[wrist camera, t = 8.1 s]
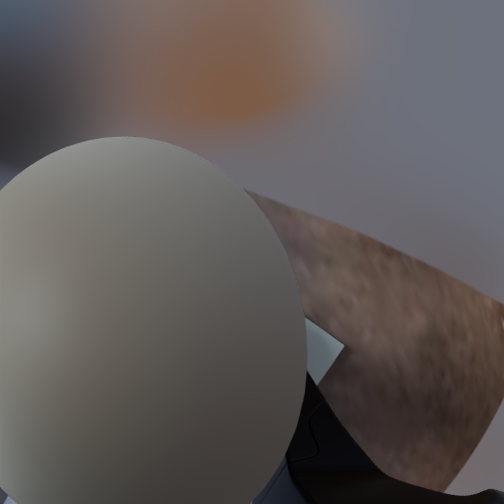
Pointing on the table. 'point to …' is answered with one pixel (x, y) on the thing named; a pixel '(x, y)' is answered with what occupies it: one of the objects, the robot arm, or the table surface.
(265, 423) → the peg
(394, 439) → the table surface
